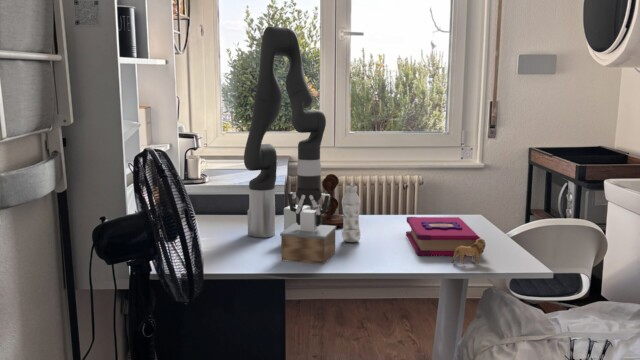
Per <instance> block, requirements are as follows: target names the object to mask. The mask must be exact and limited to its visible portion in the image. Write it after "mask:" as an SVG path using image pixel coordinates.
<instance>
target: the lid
mask: <svg viewBox="0 0 640 360" xmlns="http://www.w3.org/2000/svg"><path fill="white" fill-rule="evenodd" d="M316 215H317V213H316V210H315V209H311V210H303V211H301V212H300V225H298V223H294V224H292V225H291V226H290V227H288V228H287V229H286V230H284V229H283V231H282V232H280V234H279V236H280V237H281V236H289V237H302V238H316V239H326V238H327V237H328V236H329V235H330V234H331V233H332V232H333V231H334V230H335V231H336V229H337V226H330V225H320V226H316Z"/></svg>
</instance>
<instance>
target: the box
mask: <svg viewBox="0 0 640 360" xmlns="http://www.w3.org/2000/svg"><path fill="white" fill-rule="evenodd" d="M280 239H281V241H280V242H281V249H280V250H281V252H280V253H281V255H280V256H281V259H280V260H281V261H286V262H298V263H310V264H320V265H321V264H322V265H325V264H326V263H327V262H328V261H329V260H330V258H331V257H332V256H333V255H335V253H336V229H335V230H334V231H333V232H332V233H331V234H330V235H329V236H328V237H327V238H326V239H316V238H302V237H289V236H280Z"/></svg>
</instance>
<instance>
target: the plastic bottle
mask: <svg viewBox="0 0 640 360" xmlns="http://www.w3.org/2000/svg"><path fill="white" fill-rule="evenodd" d="M345 191H346V192H345V194H344V196H343V197H342V199H341V205H342V206H341V207H342V215H343V216H344V217H343V219H344V220H343V225H342V228H341V229H342V230H341V238H342V241H343V242H346V243H357V242H359V241H360V240H361V229H360V210H361V209H360V208H361V202H362V201H361V198H360V196H359V195H358V193H357V192H358V186H357V185H354V184H352V185H351V184H349V185H346V186H345Z"/></svg>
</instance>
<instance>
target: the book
mask: <svg viewBox="0 0 640 360" xmlns="http://www.w3.org/2000/svg"><path fill="white" fill-rule="evenodd" d="M406 223H407V224H408V225H409V227H410V229H411V230H410V231H405V235H406V237H407V238H408V240H409V243H410V244H411V246H412V248H413V249H414V251H415V254H416V255H417V257H453V256H454V253H455V250H456V249H457V247H459V246H465V247H470V246H472V245H474V243H475V242H476V240H477V239H482V237H480V236H479V235H478V234H477V233H476V232H475V231H474V230H473V229H472V228H471V227H470V226H469V225H468V224H467V223H466V222H465V221H464V220H463V219H462V218H460V217H458V216H457V217H453V216H452V217H451V216H448V217H447V216H445V217H444V216H443V217H441V216H436V217H435V216H433V217H431V216H419V217H418V216H406ZM458 257H460V255H459V256H458ZM464 257H468V256H467V255H465V254H464Z"/></svg>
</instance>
